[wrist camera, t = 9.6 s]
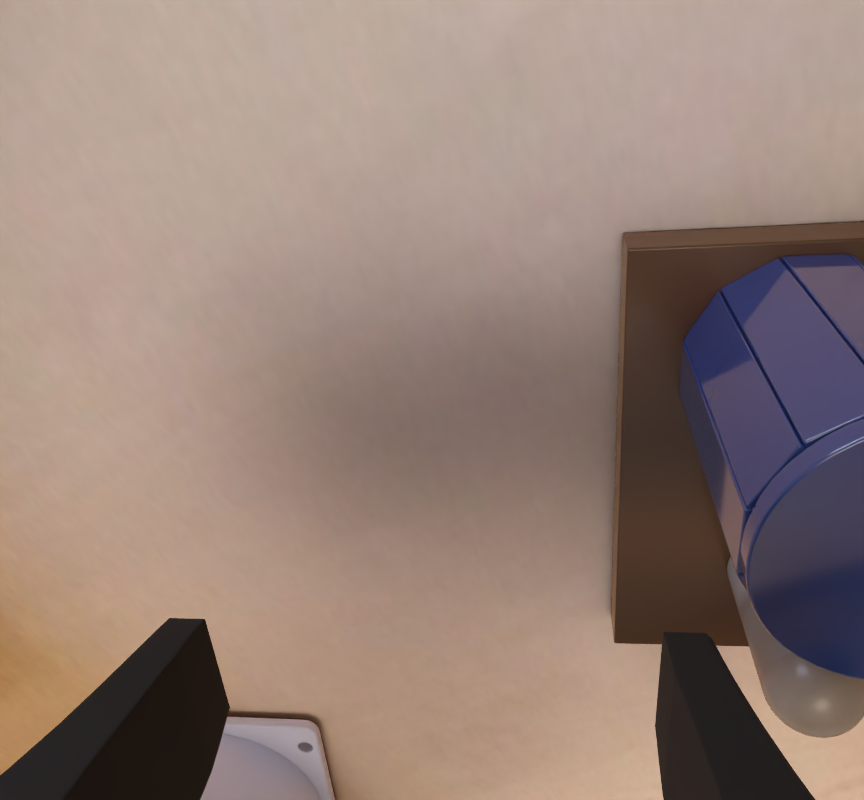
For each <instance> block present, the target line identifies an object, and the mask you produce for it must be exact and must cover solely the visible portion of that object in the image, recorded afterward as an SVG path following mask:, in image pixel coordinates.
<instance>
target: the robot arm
mask: <svg viewBox="0 0 864 800" xmlns="http://www.w3.org/2000/svg"><path fill="white" fill-rule="evenodd" d="M229 708H230V707H229V703H228V699H227V696H226V692H225V689H224V685H223V682H222V678H221V675H220V671H219V667H218V664H217V660H216V657H215V653H214V650H213V646H212V643H211V639H210V636H209V632H208V628H207V625H206V621H205V619H179V618H169V619H168V620H167V621H166V622H165V623H164V624H163V625H162V626H161V627H160V628H159V629H158V630H157V631H155V632H154V633H153V634H152V635H151V636H150V637H149V638H148V639H147V640H146V641H145V642H144V643H143V644H142V645H141V646H140V647H139V648H138V649H137V650H136V651H135V652H134V653H133V654H132V655H131V656H130V657H129V658H128V659H127V660H126V661H125V662H124V663H123V664H122V665H121V666H120V667H119V668H118V669H116V670H115V671H114V672H113V673H112V674H111V675H110V676H109V677H108V678H107V679H106V680H105V681H104V682H103V683H102V684H101V685H100V686H99V687H98V688H97V689H96V690H95V691H94V692H93V693H92V694H91V695H90V696H88V697H87V698H86V699H85V700H84V701H83V702H82V703H81V704H80V705H79V706H78V707H77V708H76V709H75V710H74V711H73V712H72V713H70V714H69V715H68V716H67V717H66V718H65V719H64V720H63V721H62V722H61V723H60V724H59V725H58V726H56V727H55V728H54V729H53V730H52V731H51V732H50V733H48V734H47V735H46V736H45V737H44V738H43V739H42V740H40V741H39V742H38V743H37V744H36V745H35V746H34V747H33V748H31V749H30V750H29V751H28V752H27V753H26V754H25V755H23V756H22V757H21V758H20V759H19V760H18V761H17V762H15V763H14V764H13V765H12V766H11V767H10V768H9V769H8V770H6V771H5V772H4V773H3V774H2V775H0V800H335V798H334V793H333V789H332V784H331V780H330V775H329V771H328V766H327V762H326V757H325V753H324V748H323V744H322V740H321V735H320V731H319V728H318V726H317V725H316V724H314V723H313V722H311V721H309V720H300V719H274V718H249V717H227V716H228V712H229ZM655 728H656V737H657V746H658V756H659V765H660V773H661V782H662V791H663V797H664V800H815V799H814V797H813V796H812V795H811V793H810V792H809V791H808V789H807V788H806V787H805V785H804V784H803V782H802V781H801V780H800V778H799V777H798V776H797V774H796V773H795V771H794V770H793V769H792V767H791V766H790V764H789V763H788V761H787V760H786V758H785V757H784V756H783V754H782V753H781V751H780V750H779V748H778V747H777V745H776V744H775V742H774V741H773V739H772V738H771V737H770V735H769V734H768V732H767V731H766V729H765V728H764V726H763V725H762V723H761V722H760V720H759V718H758V717H757V715H756V714H755V712H754V711H753V709H752V707H751V706H750V704H749V703H748V701H747V699H746V698H745V696H744V694H743V693H742V691H741V690H740V688H739V686H738V685H737V683H736V681H735V679H734V678H733V676H732V674H731V673H730V671H729V669H728V667H727V666H726V664H725V662H724V660H723V658H722V656H721V655H720V653H719V651H718V649H717V647H716V645H715V643H714V641H713V639H712V638H711V637H710V636H709V635H708V634H706V633H696V632H663V640H662V652H661V664H660V676H659V687H658V699H657V711H656V723H655Z"/></svg>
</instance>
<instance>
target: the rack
mask: <svg viewBox="0 0 864 800" xmlns="http://www.w3.org/2000/svg"><path fill="white" fill-rule="evenodd" d="M831 254H848V255H849V256H851V255H854V256H855V257H857V258H859V259H861V260H863V261H864V222H849V223H828V224H806V225H785V226H764V227H742V228H721V229H700V230H678V231H657V232H636V233H624V234H623V235H622V268H621V302H620V335H619V368H618V402H617V435H616V469H615V502H614V535H613V569H612V602H611V618H612V627H613V636H614V642H615V643H631V644H662V640H663V632H696V633H706V634H708V635H709V636H710V637H711V638H712V639H713V641H714V643H715V645H716V646H749V647H750V651H751V654H752V657H753V660H754V664H755V667H756V670H757V674H758V677H759V680H760V683H761V687H762V690H763V693H764V696H765V699H766V701H767V703H768V705H769V706H770V708H771V710H772V711H773V712H774V713H775V715H776V716H777V717H778V718H779V719H780V720H781V721H782V722H783V723H785V724H786V725H787V726H789V727H790V728H792V729H793V730H795V731H797V732H800V733H802V734H805V735H808V736H813V737H821V738H825V737H834V736H838V735H841V734H843V733H846V732H847V731H849V730H851V729H852V728H853V727H855V726H856V725H857V724H858V723H859V722H860V720H861V719H862V718H863V716H864V680H863V679H857V678H851V677H847V676H844V675H840V674H836V673H833V672H830V671H827V670H825V669H822V668H819V667H817V666H814V665H812V664H810V663H808V662H807V661H805V660H803V659H801V658H799V657H797V656H796V655H794V654H793V653H792V652H790V651H789V650H787V649H786V648H785V647H783V646H782V645H781V644H780V643H779V642H778V641H777V640H776V639H775V638H774V637H773V636H771V635H770V633H769V632H768V631H767V630H766V628H765V627H764V626H763V624H762V623H761V622H760V620H759V618H758V617H757V615H756V613H755V611H754V609H753V607H752V604H751V601H750V598H749V595H748V592H747V591H746V589H745V588H744V586H743V584H742V583H741V581H740V580H739V578H738V577H737V574H736V571H735V567H734V564H733V561H732V558H731V555H730V552H729V549H728V546H727V542H726V539H725V536H724V533H723V530H722V527H721V524H720V521H719V517H718V514H717V511H716V508H715V505H714V502H713V499H712V495H711V492H710V489H709V486H708V483H707V480H706V477H705V474H704V470H703V467H702V464H701V461H700V458H699V455H698V452H697V448H696V445H695V442H694V439H693V436H692V433H691V430H690V427H689V423H688V420H687V417H686V414H685V411H684V408H683V405H682V402H681V398H680V394H679V380H680V366H681V352H682V343H683V342H685V341H684V338H685V336H686V335H687V333H688V332H689V331H690V329H691V328H692V326H693V325H694V324H695V322H696V321H697V319H698V318H699V317H700V315H701V314H702V312H703V311H704V310H705V308H706V307H707V305H708V304H709V303H710V301H711V300H712V298H713V297H714V296H715V294H716V293H717V292H718V291H719V292H721V288H723V287H724V286H726V285H728V284H730V283H732V282H734V281H736V280H738V279H739V278H741V277H743V276H745V275H747V274H749V273H751V272H753V271H754V270H756V269H758V268H760V267H762V266H764V265H766V264H768V263H769V262H771V261H773V260H775V259H777V258H779V259H780V260H782V257H784V256H808V255H831Z"/></svg>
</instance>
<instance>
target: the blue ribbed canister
mask: <svg viewBox="0 0 864 800" xmlns="http://www.w3.org/2000/svg"><path fill="white" fill-rule="evenodd" d="M684 341H685V342H683V343H682V352H681V366H680V380H679V394H680V398H681V402H682V405H683V408H684V411H685V414H686V417H687V420H688V423H689V427H690V430H691V433H692V436H693V439H694V442H695V445H696V448H697V452H698V455H699V458H700V461H701V464H702V467H703V470H704V474H705V477H706V480H707V483H708V486H709V489H710V492H711V495H712V499H713V502H714V505H715V508H716V511H717V514H718V517H719V521H720V524H721V527H722V530H723V533H724V536H725V539H726V542H727V546H728V549H729V552H730V555H731V558H732V561H733V564H734V567H735V571H736V574H737V577H738V578H739V580H740V581H741V583H742V584H743V586H744V588H745V589H746V591H747V592H748V595H749V598H750V601H751V604H752V607H753V609H754V611H755V613H756V615H757V617H758V618H759V620H760V622H761V623H762V624H763V626H764V627H765V628H766V630H767V631H768V632H769V633H770V635H771V636H773V637H774V638H775V639H776V640H777V641H778V642H779V643H780V644H781V645H782V646H783V647H785V648H786V649H787V650H789V651H790V652H792V653H793V654H794V655H796V656H797V657H799V658H801V659H803V660H805V661H807V662H808V663H810V664H812V665H814V666H817V667H819V668H822V669H825V670H827V671H830V672H833V673H836V674H840V675H844V676H847V677H851V678H857V679H863V680H864V261H863V260H861V259H859V258H857V257H855V256H854V255H851V256H849V255H848V254H831V255H808V256H784V257H782V260H780V259H779V258H777V259H775V260H773V261H771V262H769V263H768V264H766V265H764V266H762V267H760V268H758V269H756V270H754V271H753V272H751V273H749V274H747V275H745V276H743V277H741V278H739V279H738V280H736V281H734V282H732V283H730V284H728V285H726V286H724V287H723V288H721V292H719V291H718V292H717V293H716V294H715V296H714V297H713V298H712V300H711V301H710V303H709V304H708V305H707V307H706V308H705V310H704V311H703V312H702V314H701V315H700V317H699V318H698V319H697V321H696V322H695V324H694V325H693V326H692V328H691V329H690V331H689V332H688V333H687V335H686V336H685V338H684Z"/></svg>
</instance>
